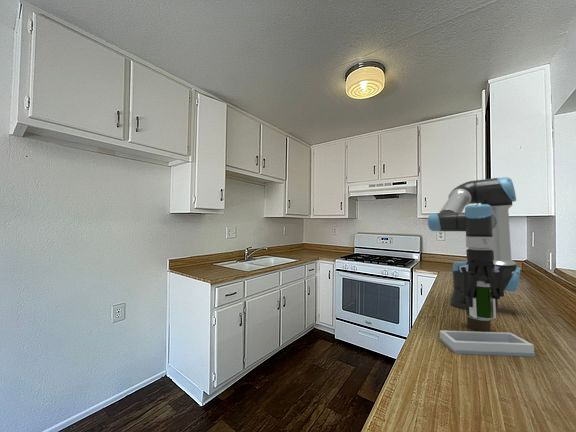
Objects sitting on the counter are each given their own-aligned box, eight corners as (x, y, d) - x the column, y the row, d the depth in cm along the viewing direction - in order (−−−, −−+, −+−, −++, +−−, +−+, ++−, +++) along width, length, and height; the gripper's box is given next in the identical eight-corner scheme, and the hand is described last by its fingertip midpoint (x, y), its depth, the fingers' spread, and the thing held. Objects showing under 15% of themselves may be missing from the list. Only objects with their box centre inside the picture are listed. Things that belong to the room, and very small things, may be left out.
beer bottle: (488, 326, 102) (485, 268, 104) (494, 333, 95) (491, 271, 97) (465, 323, 106) (463, 266, 107) (469, 330, 99) (467, 269, 100)
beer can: (476, 319, 83) (475, 283, 84) (470, 314, 88) (468, 280, 89) (495, 321, 82) (494, 284, 82) (488, 315, 87) (486, 281, 87)
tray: (439, 339, 91) (439, 330, 91) (510, 342, 88) (509, 332, 89) (454, 353, 81) (454, 342, 81) (535, 356, 78) (534, 345, 79)
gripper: (457, 249, 83) (460, 319, 82) (517, 249, 82) (520, 321, 80) (445, 247, 91) (448, 312, 90) (500, 248, 89) (503, 313, 88)
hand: (482, 316), depth 85 cm, fingers closed on beer can, 5 cm apart
